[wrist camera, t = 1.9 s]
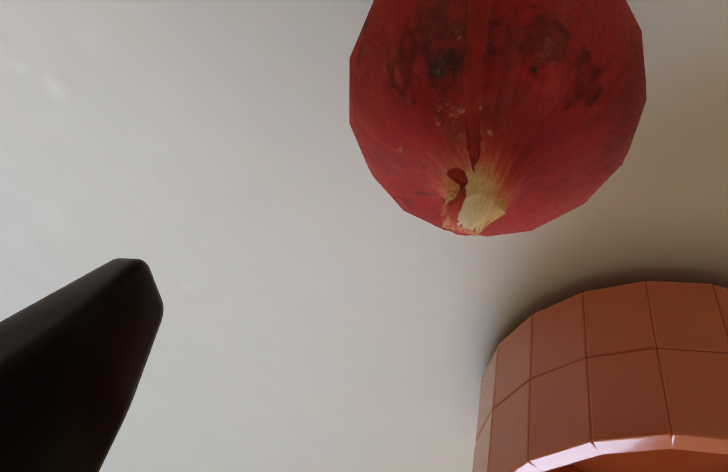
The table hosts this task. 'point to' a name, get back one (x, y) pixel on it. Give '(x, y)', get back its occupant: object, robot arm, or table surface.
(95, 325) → the robot arm
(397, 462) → the table surface
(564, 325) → the bowl
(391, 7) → the onion
